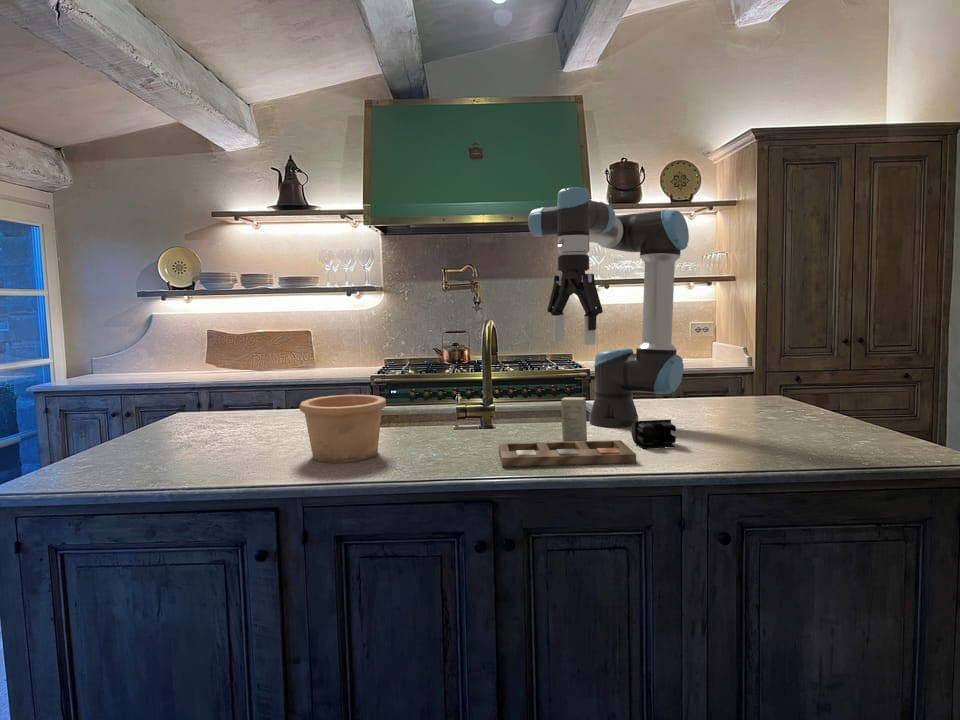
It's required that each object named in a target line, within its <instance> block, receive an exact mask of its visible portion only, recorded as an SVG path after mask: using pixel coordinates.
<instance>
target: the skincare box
mask: <svg viewBox="0 0 960 720" xmlns="http://www.w3.org/2000/svg"><path fill="white" fill-rule="evenodd" d="M586 399H587V398H586V397H585V396H584V397H578V396H577V397H573V396H572V397H571V396H568V397H567V396H566V397H563V398H561V399H560V400H561V401H560V403H561V405H560V406H561V427H562V428H561V432H562V433H561V434H562V442H571V441H588V432H587V431H588V430H587V429H588V428H587V426H588V425H587V400H586Z"/></svg>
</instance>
